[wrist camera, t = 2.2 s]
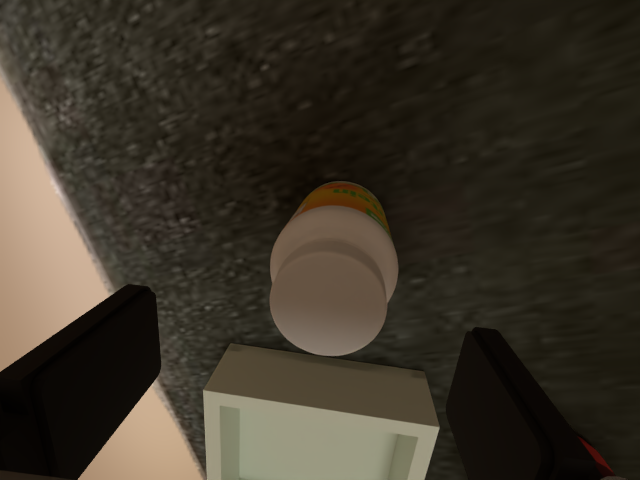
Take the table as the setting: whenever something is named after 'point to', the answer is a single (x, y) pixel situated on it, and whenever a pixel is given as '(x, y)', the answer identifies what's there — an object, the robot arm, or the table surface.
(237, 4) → the table surface
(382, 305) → the supplement bottle
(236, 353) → the bin
